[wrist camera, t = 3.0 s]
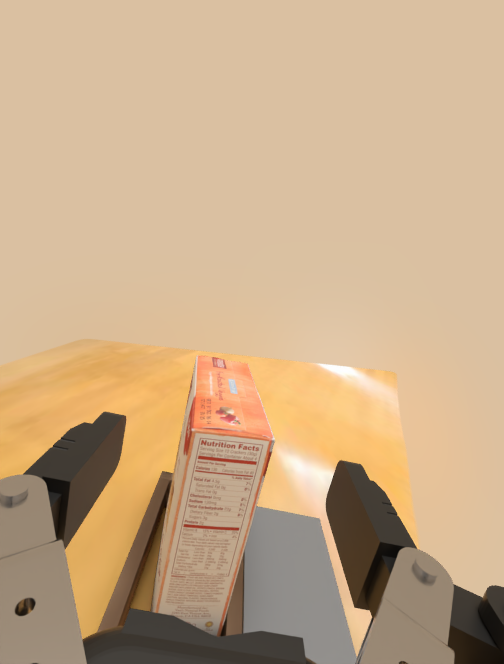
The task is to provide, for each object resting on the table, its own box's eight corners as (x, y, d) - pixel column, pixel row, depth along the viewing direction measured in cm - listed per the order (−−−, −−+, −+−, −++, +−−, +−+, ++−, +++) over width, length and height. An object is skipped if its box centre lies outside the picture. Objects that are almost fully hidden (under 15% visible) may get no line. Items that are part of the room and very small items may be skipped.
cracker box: (161, 517, 38) (195, 351, 33) (211, 521, 39) (251, 361, 34) (136, 666, 24) (188, 423, 20) (214, 665, 26) (281, 436, 21)
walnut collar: (82, 691, 22) (89, 650, 22) (156, 498, 40) (162, 471, 39) (228, 714, 23) (240, 674, 22) (237, 513, 41) (244, 487, 40)
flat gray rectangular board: (238, 732, 22) (241, 722, 22) (243, 510, 42) (245, 504, 42) (374, 752, 23) (379, 743, 23) (317, 524, 42) (319, 518, 42)
